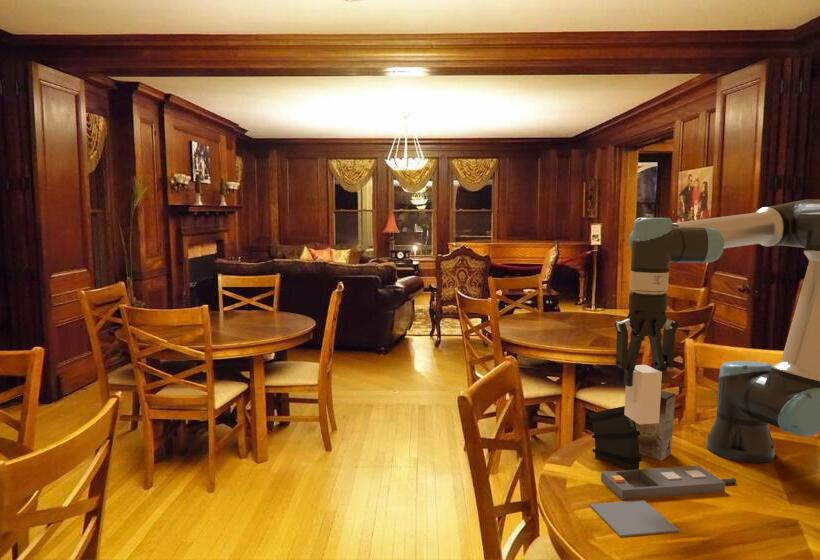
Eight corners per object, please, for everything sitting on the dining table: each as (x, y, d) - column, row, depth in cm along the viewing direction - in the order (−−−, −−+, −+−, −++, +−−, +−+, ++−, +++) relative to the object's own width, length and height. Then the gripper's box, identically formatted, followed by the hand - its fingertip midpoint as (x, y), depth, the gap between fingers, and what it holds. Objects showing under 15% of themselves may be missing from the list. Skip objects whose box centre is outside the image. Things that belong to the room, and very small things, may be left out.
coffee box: (625, 451, 153) (628, 389, 151) (636, 445, 157) (640, 384, 155) (661, 462, 146) (666, 398, 144) (672, 455, 151) (676, 392, 149)
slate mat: (643, 503, 125) (643, 500, 125) (678, 534, 114) (679, 530, 114) (589, 507, 123) (589, 504, 123) (619, 539, 111) (620, 535, 111)
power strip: (721, 474, 140) (722, 461, 140) (749, 491, 131) (750, 478, 131) (600, 482, 135) (601, 469, 135) (621, 501, 126) (622, 487, 126)
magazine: (642, 473, 136) (621, 406, 140) (599, 477, 147) (581, 415, 151) (653, 469, 138) (632, 404, 142) (609, 474, 149) (591, 413, 153)
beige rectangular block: (643, 413, 133) (645, 364, 132) (659, 423, 127) (662, 372, 126) (624, 414, 132) (626, 365, 131) (639, 424, 126) (642, 372, 125)
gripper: (618, 294, 121) (613, 407, 124) (697, 293, 125) (690, 403, 127) (600, 289, 129) (595, 396, 131) (675, 288, 132) (669, 393, 135)
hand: (642, 399), depth 129 cm, fingers closed on beige rectangular block, 4 cm apart
